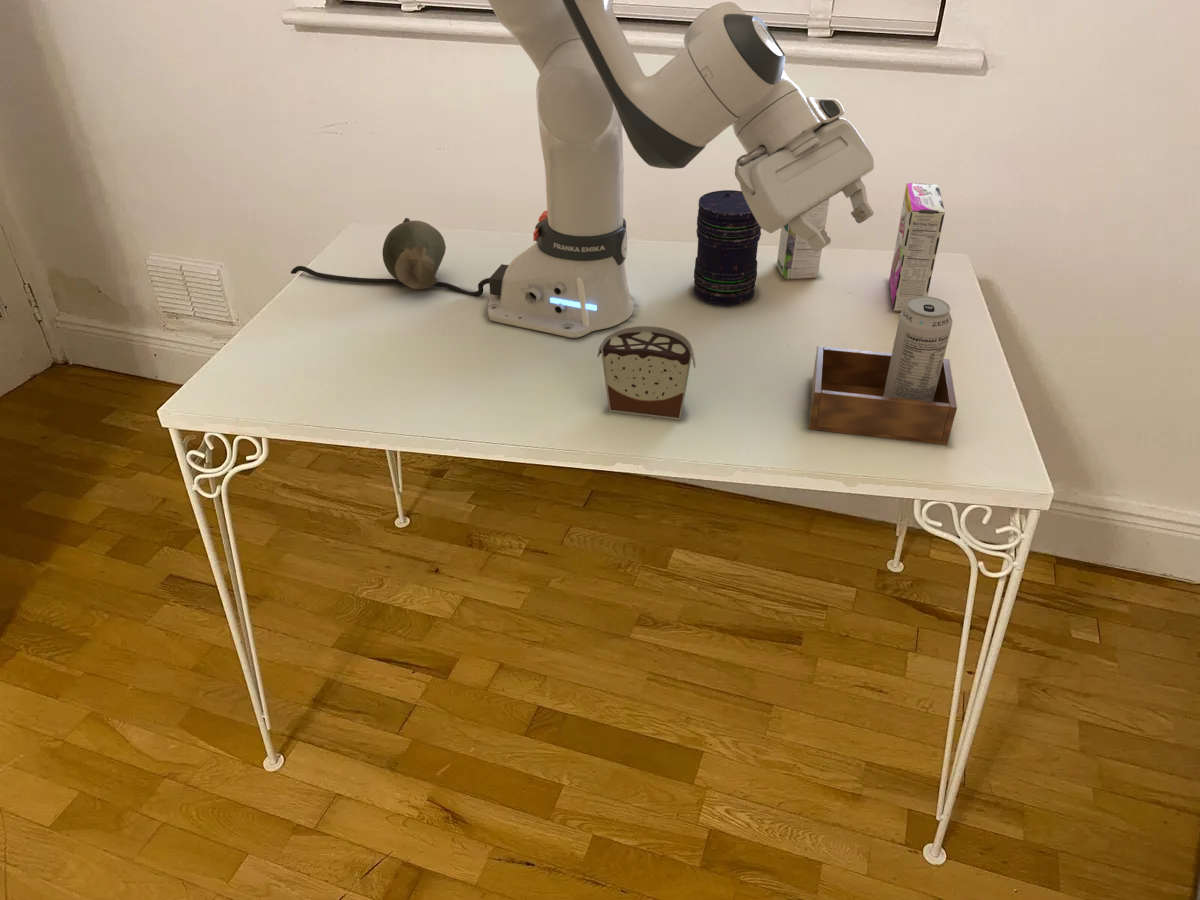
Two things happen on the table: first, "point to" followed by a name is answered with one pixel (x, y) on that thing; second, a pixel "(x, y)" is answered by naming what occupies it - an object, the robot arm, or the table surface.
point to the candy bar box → (916, 243)
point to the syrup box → (801, 248)
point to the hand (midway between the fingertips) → (845, 233)
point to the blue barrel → (726, 249)
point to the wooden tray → (875, 399)
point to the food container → (646, 371)
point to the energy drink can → (919, 349)
